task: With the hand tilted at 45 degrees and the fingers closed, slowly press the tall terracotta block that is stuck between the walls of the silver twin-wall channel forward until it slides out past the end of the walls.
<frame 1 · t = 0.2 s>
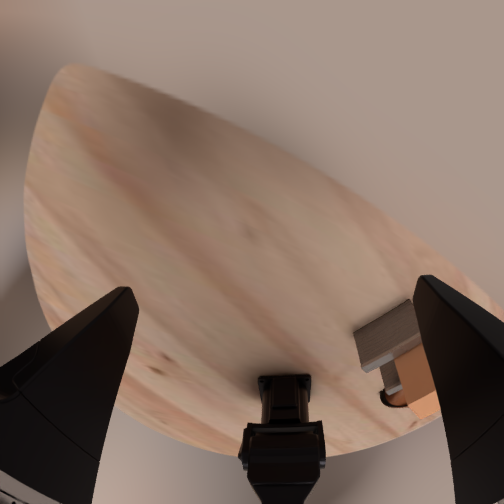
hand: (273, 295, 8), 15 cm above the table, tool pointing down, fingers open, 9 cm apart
block: (419, 363, 24), point 5 cm above the table, slide at 0.0 cm
sunglasses case: (435, 377, 35), on the table
silver twin-wall channel: (405, 327, 29), on the table
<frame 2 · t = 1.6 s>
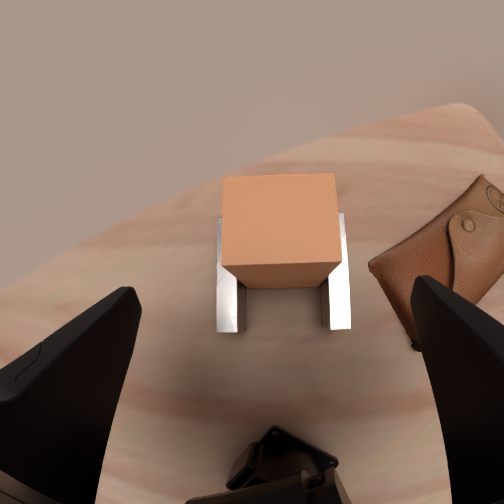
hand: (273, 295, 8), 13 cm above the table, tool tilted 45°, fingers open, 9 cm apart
block: (281, 245, 17), point 5 cm above the table, slide at 0.0 cm
sunglasses case: (456, 251, 21), on the table
silver twin-wall channel: (282, 262, 22), on the table
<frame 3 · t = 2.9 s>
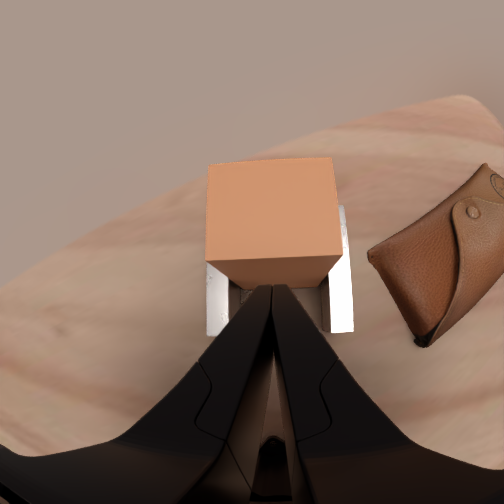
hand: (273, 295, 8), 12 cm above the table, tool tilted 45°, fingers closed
block: (276, 240, 16), point 5 cm above the table, slide at 0.0 cm
sunglasses case: (461, 241, 20), on the table
silver twin-wall channel: (279, 260, 21), on the table
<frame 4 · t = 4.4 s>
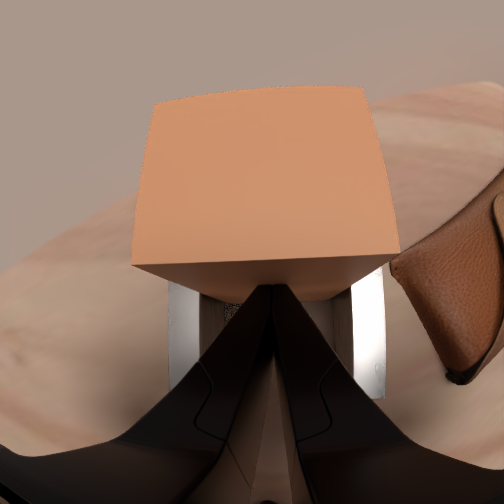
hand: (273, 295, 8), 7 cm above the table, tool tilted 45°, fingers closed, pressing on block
block: (272, 234, 10), point 5 cm above the table, slide at 1.1 cm, touching gripper
sunglasses case: (498, 245, 15), on the table
silver twin-wall channel: (278, 284, 15), on the table
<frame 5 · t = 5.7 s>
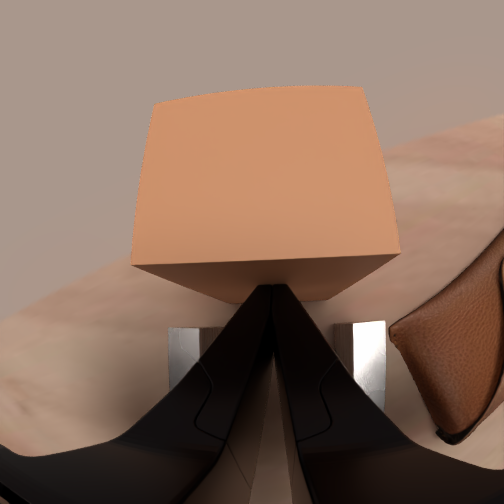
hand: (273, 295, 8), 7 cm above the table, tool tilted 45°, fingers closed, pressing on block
block: (272, 234, 10), point 5 cm above the table, slide at 5.2 cm, touching gripper
sunglasses case: (502, 298, 14), on the table
silver twin-wall channel: (280, 365, 14), on the table
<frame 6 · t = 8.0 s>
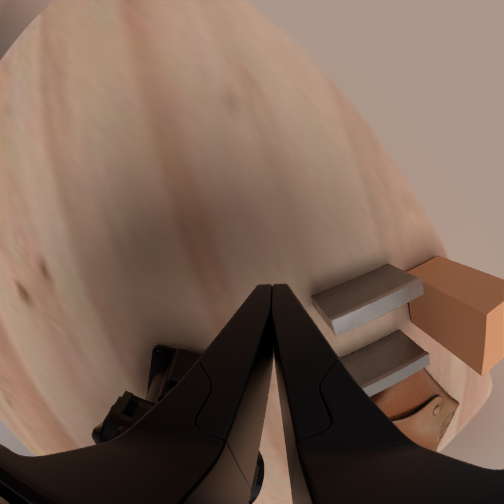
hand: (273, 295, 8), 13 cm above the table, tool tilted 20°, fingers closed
block: (460, 308, 18), point 5 cm above the table, slide at 5.2 cm
sunglasses case: (412, 403, 27), on the table
silver twin-wall channel: (376, 313, 23), on the table
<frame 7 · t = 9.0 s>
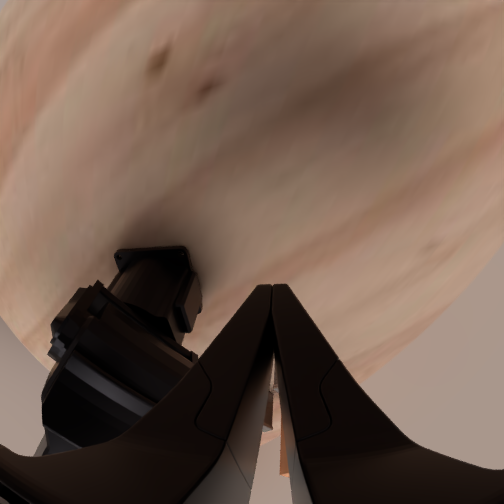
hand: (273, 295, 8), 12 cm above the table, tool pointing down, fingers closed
block: (309, 434, 27), point 5 cm above the table, slide at 5.2 cm
silver twin-wall channel: (282, 379, 30), on the table
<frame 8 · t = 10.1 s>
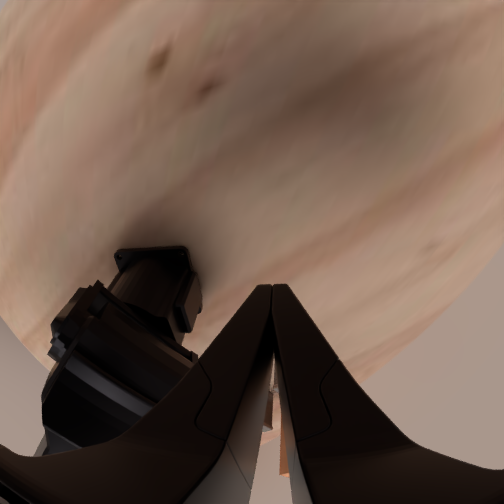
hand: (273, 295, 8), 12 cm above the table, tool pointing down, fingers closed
block: (309, 434, 27), point 5 cm above the table, slide at 5.2 cm
silver twin-wall channel: (282, 379, 30), on the table
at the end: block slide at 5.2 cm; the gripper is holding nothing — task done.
